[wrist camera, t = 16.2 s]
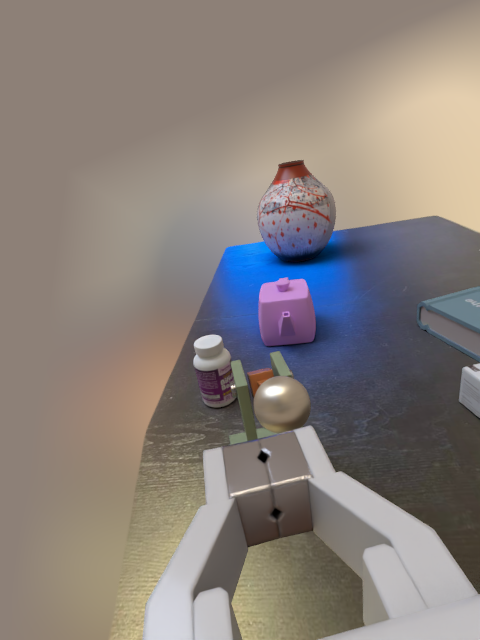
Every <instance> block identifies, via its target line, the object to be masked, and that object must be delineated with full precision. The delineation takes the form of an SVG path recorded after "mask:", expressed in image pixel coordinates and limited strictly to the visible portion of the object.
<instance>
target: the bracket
mask: <svg viewBox="0 0 480 640" xmlns="http://www.w3.org/2000/svg"><path fill="white" fill-rule="evenodd" d="M270 358H271V364H272V370H273V375H274V377H275V376H287V377H291V378H293V379H294V376H293V373H292V371H291V370H289V369H288V367H287V365H286V363H285V361H284V359H283V357H282V355H281V353H280V351H277V352H273V353H270ZM231 368H232V372H233V377H234V382H233V383H230V387H231V392H232V397H233V398H235V397H238V401H239V405H240V410H241V415H242V420H243V424H244V429H245V432H243V433H239V434H235V435H231V436H229V439H230V445H231V444H236V443H241V442H246V441H250V440H255V439H259V438H263V437H267V436H271V435H275V434H276V433H273V432H271V431H269V430H267V429H266V428H260V429H256V426H255V421H254V416H253V411H252V406H251V401H250V395H249V390H248V385H247V382H246V378H245V375H244V371H243V368H242V364H241V361H240V360H237V361H233V362H231ZM301 428H303V426H302V427H301Z"/></svg>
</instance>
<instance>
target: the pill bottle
mask: <svg viewBox="0 0 480 640" xmlns="http://www.w3.org/2000/svg"><path fill="white" fill-rule="evenodd" d="M223 346H224V345H223V341H222V338H221V337H220V336H218V335H207V336H203V337H201V338H199V339H198V340H196V341H195V343H194V348H195V352H196V356H195V357H194V368H195V372H196V376H197V379H198V383H199V387H200V391H201V395H202V398H203V401H204V403H205V404H206V405H208V406H210V407H224V406H226V405H228V404H230V403H231V402H233V401H234V400H235V398H236V397H235V398H233V397H232V392H231V387H230V383H233V382H234V377H233V372H232V368H231V362H232V361H231V356H230V353H229V352H228V350H226V349H225V348H223Z"/></svg>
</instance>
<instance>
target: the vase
mask: <svg viewBox="0 0 480 640" xmlns="http://www.w3.org/2000/svg"><path fill="white" fill-rule="evenodd" d="M278 166H279V169H278V172H277V174H276V176H275V178H274V180H273V182H272V184H271V185H270V187H269V188H268V190H267V191H266V193H265V194H264V196H263V197H262V199H261V201H260V203H259V206H258V212H257V220H258V226H259V230H260V232H261V235H262V238H263V240H264V241H265V243H266V245H267V246H268V247H269V249H270V250H271V251H272V252H273V253H274V254H275V255H276V256H278V257H279V258H281V259H283V260H286V261H292V262H297V261H305V260H308V259H311V258H313V257H315V256H317V255H318V254H319V253H320V252H321V251H322V250H323V249H324V248H325V246H326V245H327V243H328V242H329V240H330V238H331V235H332V232H333V229H334V225H335V219H336V207H335V202H334V198H333V196H332V194H331V192H330V191H329V189H328V188H327V187H325V186H324V185H323V184H322V183H321V182H320V181H318V180H317V179H316V178H315V177H314V176H313V175H312V174H311V173H310V172H309V171H308V170H307V168H306V167H305V165H304V162H303V160H298V161H292V162H286V163H282V164H279V165H278Z"/></svg>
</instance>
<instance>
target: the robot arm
mask: <svg viewBox="0 0 480 640" xmlns="http://www.w3.org/2000/svg"><path fill="white" fill-rule="evenodd" d="M203 465H204V480H205V495H206V505H203V506H200V508H199V509H198V511H197V513H196V515H195V517H194V518H193V520H192V522H191V524H190V526H189V527H188V529H187V531H186V533H185V535H184V536H183V538H182V540H181V542H180V543H179V545H178V547H177V549H176V551H175V552H174V554H173V556H172V558H171V560H170V561H169V563H168V565H167V567H166V569H165V570H164V572H163V574H162V576H161V578H160V579H159V581H158V583H157V585H156V587H155V588H154V590H153V592H152V594H151V595H150V597H149V599H148V601H147V603H146V607H145V618H144V629H143V640H242V637H241V634H240V630H239V627H238V624H237V621H236V617H235V614H234V611H233V608H232V604H231V602H232V599H233V596H234V593H235V589H236V586H237V583H238V580H239V577H240V574H241V571H242V567H243V564H244V561H245V558H246V555H247V552H248V547H251V546H254V545H257V544H261V543H264V542H268V541H271V540H275V539H278V538H282V537H287V536H291V535H295V534H300V533H304V532H309V531H313V530H314V533H315V534H316V535H317V536H318V537H319V538H320V539H321V540H322V541H323V542H324V543H325V544H326V545H327V546H328V547H330V548H331V549H332V550H333V551H334V552H335V553H336V554H337V555H338V556H339V557H340V558H341V559H342V560H343V561H344V562H345V563H346V564H347V565H348V566H349V567H350V568H351V569H352V570H353V571H354V572H355V573H356V574H357V575H358V576H359V577H361V578H362V579H363V621H364V624H365V626H364V627H361V628H357V629H353V630H350V631H346V632H343V633H339V634H335V635H332V636H328V637H325V638H321V639H318V640H480V594H479V595H478V593H477V592H476V590H475V589H474V587H473V586H472V584H471V583H470V581H469V580H468V579H467V577H466V576H465V574H464V573H463V571H462V570H461V568H460V567H459V565H458V564H457V563H456V561H455V560H454V558H453V557H452V555H451V554H450V552H449V551H448V549H447V548H446V547H445V545H444V544H443V542H442V541H441V539H440V538H439V536H438V535H437V533H436V532H435V531H434V529H433V528H431V527H429V526H428V525H426V524H425V523H423V522H421V521H420V520H418V519H417V518H415V517H413V516H412V515H410V514H409V513H407V512H405V511H404V510H402V509H401V508H399V507H397V506H396V505H394V504H393V503H391V502H389V501H388V500H386V499H385V498H383V497H381V496H380V495H378V494H377V493H375V492H374V491H372V490H370V489H369V488H367V487H366V486H364V485H362V484H361V483H359V482H358V481H356V480H354V479H353V478H351V477H350V476H348V475H346V474H345V473H343V472H342V471H341V472H335V470H334V468H333V466H332V464H331V462H330V460H329V458H328V456H327V454H326V452H325V450H324V448H323V446H322V444H321V442H320V440H319V438H318V436H317V434H316V432H315V430H314V428H313V427H312V426H307V427H303V428H299V429H295V430H293V431H292V430H291V431H287V432H283V433H279V434H275V435H271V436H267V437H263V438H259V439H255V440H250V441H246V442H241V443H236V444H231V445H227V446H222V447H219V448H214V449H210V450H205V451H204V452H203Z"/></svg>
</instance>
